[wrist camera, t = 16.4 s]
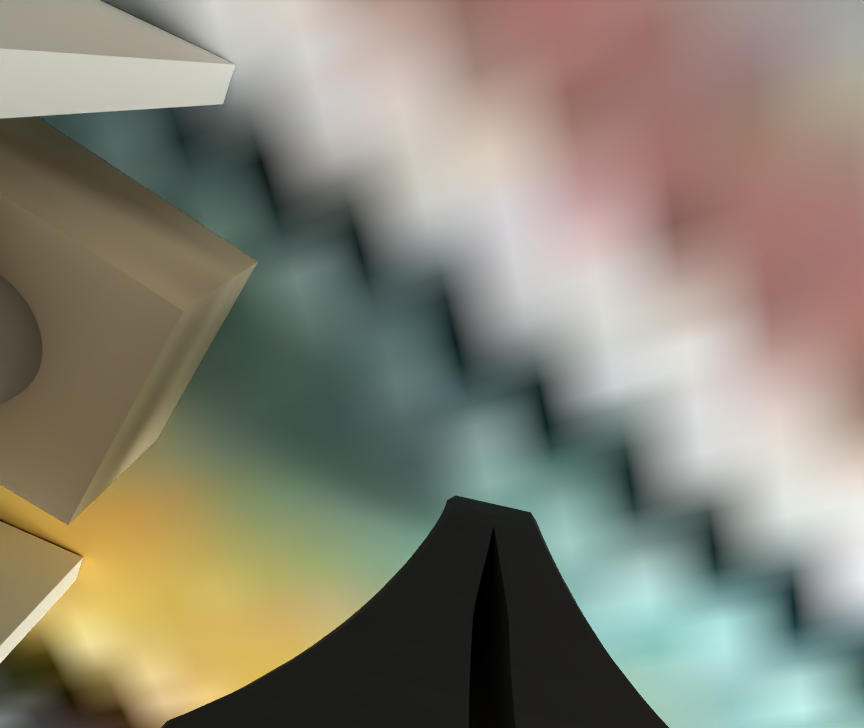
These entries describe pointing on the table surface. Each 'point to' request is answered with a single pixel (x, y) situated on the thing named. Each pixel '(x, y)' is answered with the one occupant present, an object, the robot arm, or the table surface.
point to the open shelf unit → (72, 94)
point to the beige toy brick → (94, 315)
